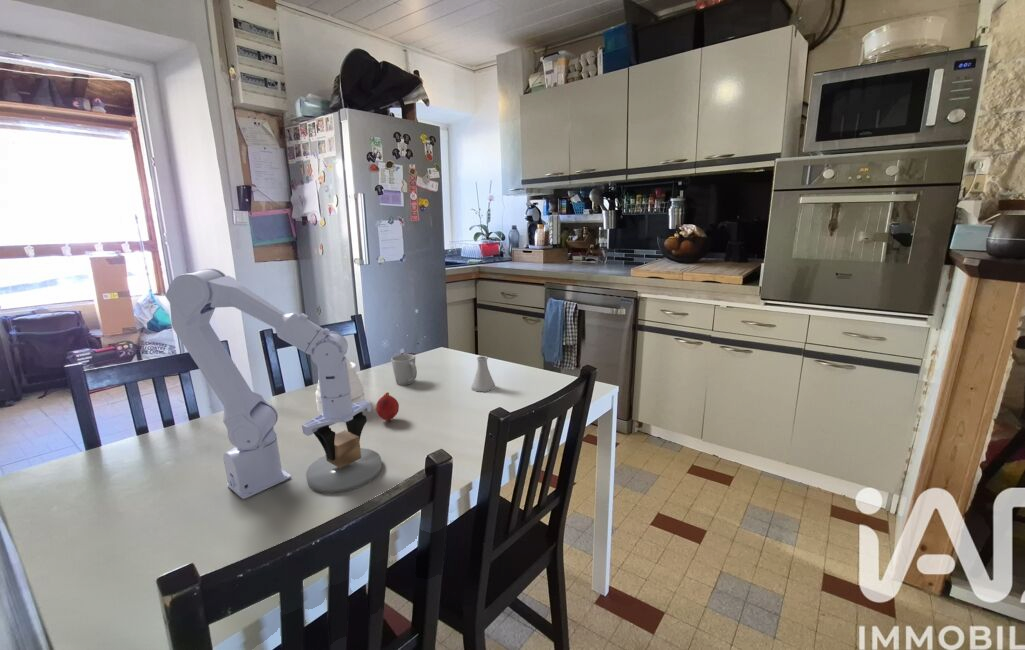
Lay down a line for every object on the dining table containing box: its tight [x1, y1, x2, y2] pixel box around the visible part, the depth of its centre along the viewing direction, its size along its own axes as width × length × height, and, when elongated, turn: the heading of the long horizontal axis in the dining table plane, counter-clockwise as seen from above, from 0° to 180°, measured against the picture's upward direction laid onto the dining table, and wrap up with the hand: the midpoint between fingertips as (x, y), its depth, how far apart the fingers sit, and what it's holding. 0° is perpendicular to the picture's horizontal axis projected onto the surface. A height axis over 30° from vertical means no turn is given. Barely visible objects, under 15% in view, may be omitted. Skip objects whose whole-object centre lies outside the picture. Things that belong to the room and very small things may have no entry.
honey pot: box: [314, 355, 366, 415], centre depth 129 cm, size 13×13×18 cm
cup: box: [390, 353, 418, 386], centre depth 147 cm, size 8×10×8 cm
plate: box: [305, 447, 383, 494], centre depth 98 cm, size 15×15×2 cm
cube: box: [325, 429, 361, 468], centre depth 96 cm, size 5×5×5 cm
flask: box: [470, 355, 496, 393], centre depth 142 cm, size 7×7×10 cm
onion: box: [375, 391, 400, 422], centre depth 121 cm, size 6×6×8 cm
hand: (343, 453), depth 97 cm, fingers closed on cube, 5 cm apart
